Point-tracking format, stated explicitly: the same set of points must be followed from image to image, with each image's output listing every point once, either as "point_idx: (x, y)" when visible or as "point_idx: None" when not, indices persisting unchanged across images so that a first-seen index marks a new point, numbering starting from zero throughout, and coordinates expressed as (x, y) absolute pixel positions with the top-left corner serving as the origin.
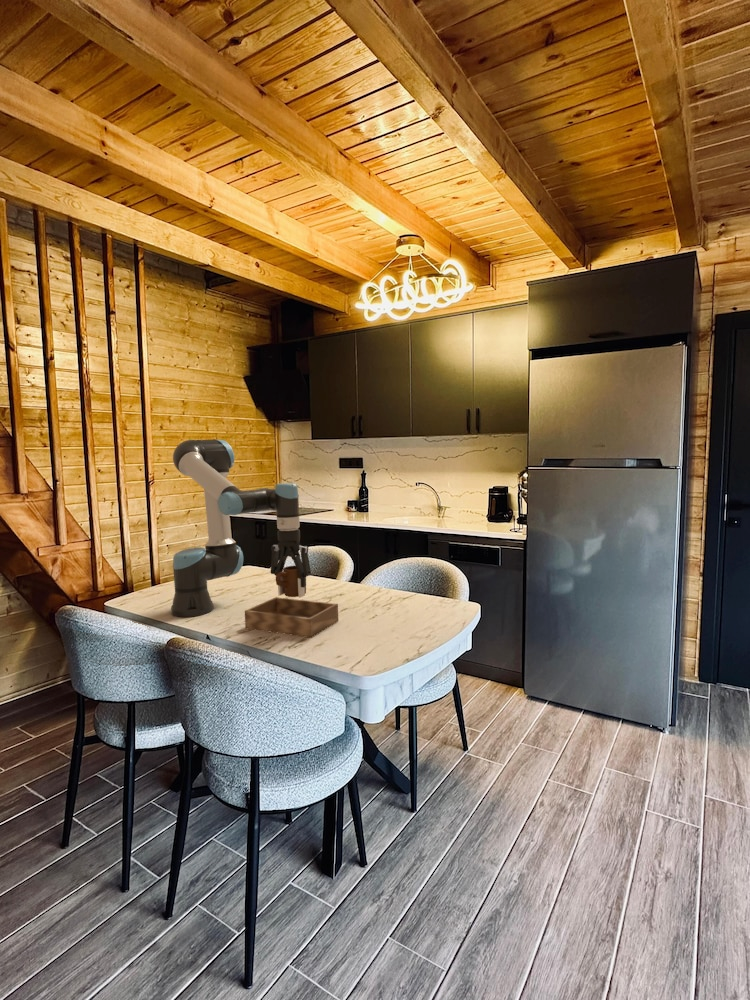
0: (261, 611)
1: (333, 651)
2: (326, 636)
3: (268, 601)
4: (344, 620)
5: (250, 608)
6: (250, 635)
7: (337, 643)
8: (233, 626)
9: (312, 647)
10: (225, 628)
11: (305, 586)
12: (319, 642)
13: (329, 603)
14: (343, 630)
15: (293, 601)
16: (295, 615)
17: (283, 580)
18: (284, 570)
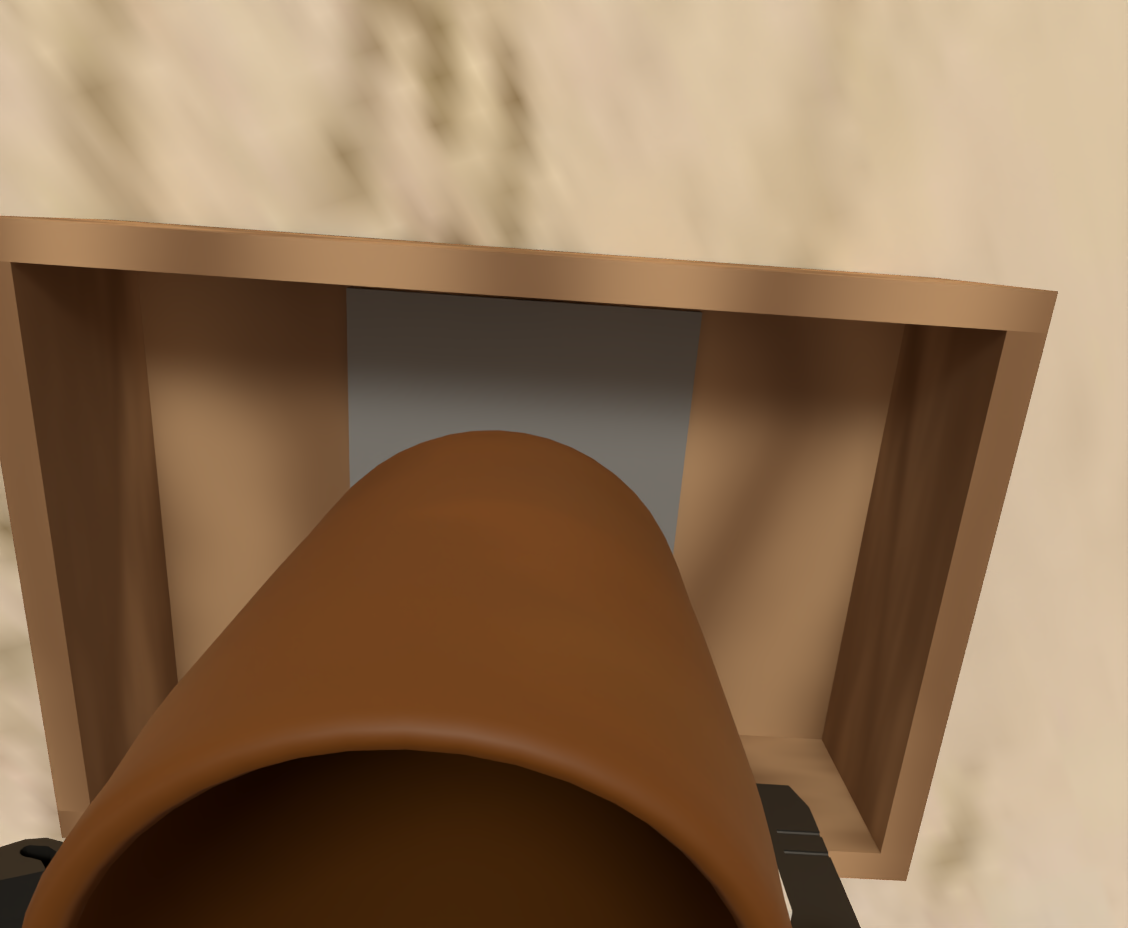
0: (110, 571)
1: (1094, 921)
2: (953, 697)
3: (31, 450)
4: (999, 245)
5: (52, 754)
6: None
7: (1086, 798)
8: (24, 703)
9: (921, 901)
10: (2, 759)
11: (786, 793)
12: (939, 815)
13: (928, 305)
14: (1064, 530)
15: (328, 282)
16: (425, 326)
17: (274, 884)
18: None
